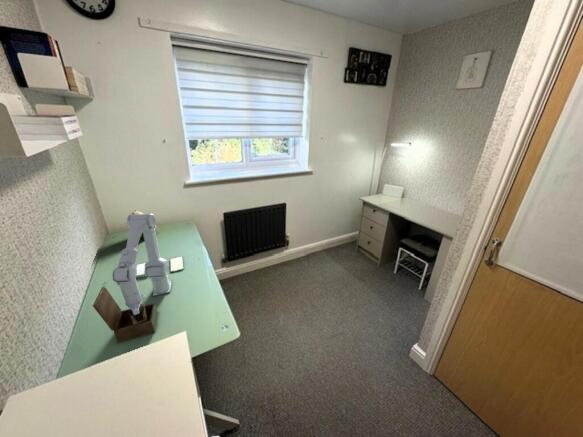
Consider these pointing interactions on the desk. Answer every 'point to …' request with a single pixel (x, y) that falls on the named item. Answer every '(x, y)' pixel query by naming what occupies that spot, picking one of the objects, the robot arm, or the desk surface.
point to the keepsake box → (129, 330)
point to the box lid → (107, 308)
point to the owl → (142, 232)
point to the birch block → (143, 316)
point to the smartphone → (176, 264)
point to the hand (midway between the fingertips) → (139, 316)
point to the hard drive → (140, 270)
